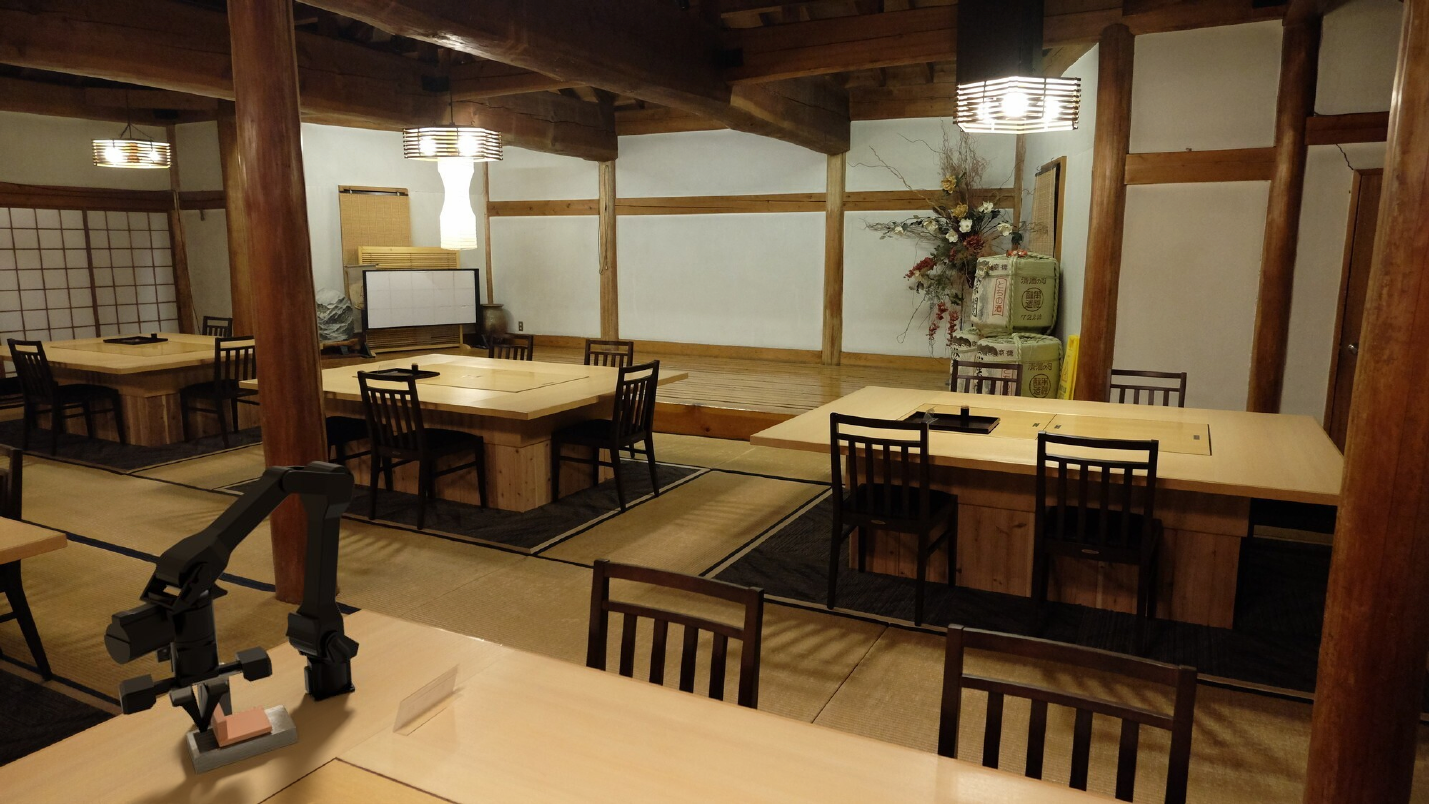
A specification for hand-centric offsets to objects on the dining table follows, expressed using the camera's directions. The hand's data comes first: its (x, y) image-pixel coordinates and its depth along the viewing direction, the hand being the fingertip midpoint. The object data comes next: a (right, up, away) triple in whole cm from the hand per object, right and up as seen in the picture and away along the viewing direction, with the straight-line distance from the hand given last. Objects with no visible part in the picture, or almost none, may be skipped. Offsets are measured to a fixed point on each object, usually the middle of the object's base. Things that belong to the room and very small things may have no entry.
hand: (203, 731), depth 127 cm
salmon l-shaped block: (+4, -1, +3) cm, 5 cm away
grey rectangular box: (+4, -3, +4) cm, 7 cm away
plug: (-4, -2, +11) cm, 12 cm away
